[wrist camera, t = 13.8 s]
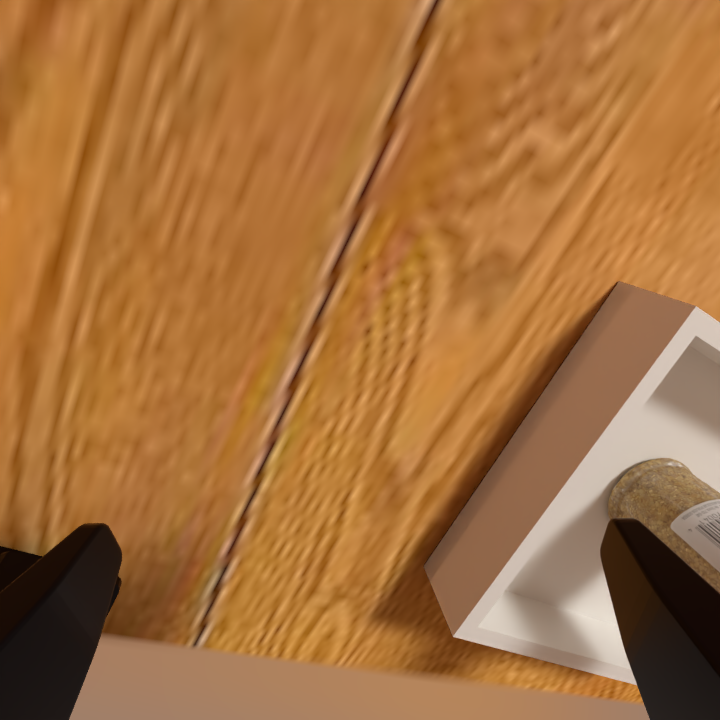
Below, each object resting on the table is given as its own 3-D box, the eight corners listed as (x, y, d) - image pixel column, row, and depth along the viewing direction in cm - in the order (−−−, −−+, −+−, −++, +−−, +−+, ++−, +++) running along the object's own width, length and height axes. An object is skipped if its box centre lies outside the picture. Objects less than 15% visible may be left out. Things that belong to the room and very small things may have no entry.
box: (638, 634, 30) (692, 699, 26) (423, 566, 25) (452, 636, 21) (825, 417, 26) (917, 458, 23) (618, 281, 21) (696, 306, 17)
